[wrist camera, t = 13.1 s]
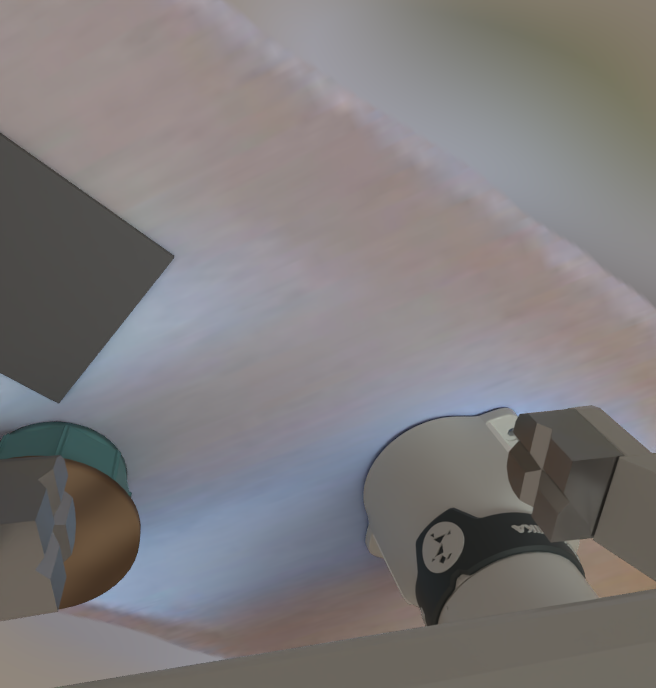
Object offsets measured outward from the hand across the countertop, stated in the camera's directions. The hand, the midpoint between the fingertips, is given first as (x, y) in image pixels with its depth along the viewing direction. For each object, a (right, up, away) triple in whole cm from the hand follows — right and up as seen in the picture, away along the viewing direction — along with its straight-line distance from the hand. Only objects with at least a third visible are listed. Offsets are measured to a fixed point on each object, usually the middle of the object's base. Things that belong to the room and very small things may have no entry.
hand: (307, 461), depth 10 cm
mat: (-20, +7, +28) cm, 35 cm away
